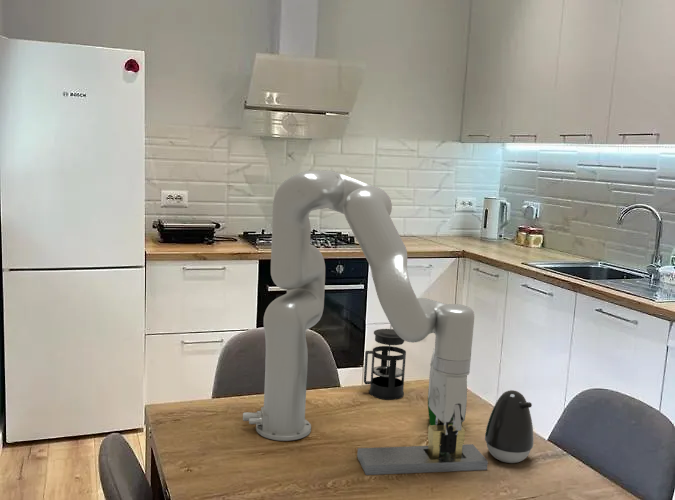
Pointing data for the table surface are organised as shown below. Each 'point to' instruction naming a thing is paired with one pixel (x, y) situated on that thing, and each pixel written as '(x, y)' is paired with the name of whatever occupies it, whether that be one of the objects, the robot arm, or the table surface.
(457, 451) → the tan wooden block
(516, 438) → the pump dispenser
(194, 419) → the table surface
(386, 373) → the french press
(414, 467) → the grey flat board
